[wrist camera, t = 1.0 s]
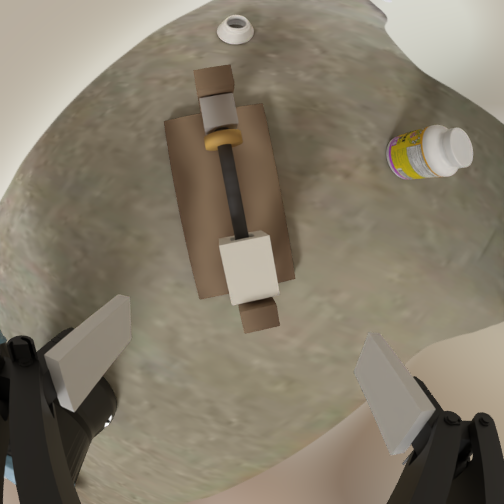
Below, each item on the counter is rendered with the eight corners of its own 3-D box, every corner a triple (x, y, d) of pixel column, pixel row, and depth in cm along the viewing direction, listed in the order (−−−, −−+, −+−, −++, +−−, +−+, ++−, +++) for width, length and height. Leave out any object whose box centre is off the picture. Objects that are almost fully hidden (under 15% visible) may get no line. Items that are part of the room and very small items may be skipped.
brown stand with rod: (200, 295, 34) (192, 343, 22) (166, 124, 30) (139, 83, 17) (292, 275, 35) (329, 312, 23) (260, 107, 31) (283, 60, 18)
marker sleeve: (229, 289, 26) (232, 305, 22) (218, 238, 25) (218, 245, 21) (269, 280, 27) (279, 294, 22) (260, 230, 26) (269, 235, 21)
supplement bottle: (409, 133, 34) (467, 117, 21) (421, 174, 35) (482, 170, 22) (378, 140, 33) (438, 121, 21) (392, 184, 35) (455, 181, 22)
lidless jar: (215, 44, 29) (251, 47, 29) (215, 33, 26) (254, 36, 26) (219, 20, 28) (254, 23, 28) (219, 9, 25) (256, 12, 26)
